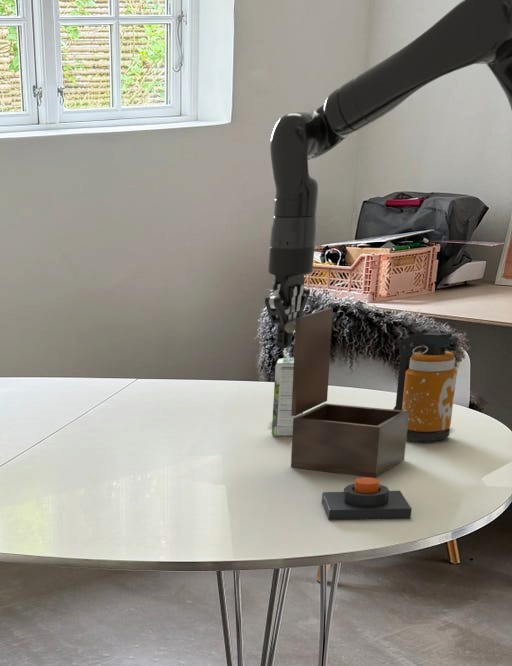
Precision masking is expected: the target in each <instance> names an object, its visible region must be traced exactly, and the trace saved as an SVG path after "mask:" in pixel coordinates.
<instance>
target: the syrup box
mask: <svg viewBox="0 0 512 666" xmlns="http://www.w3.org/2000/svg"><path fill="white" fill-rule="evenodd" d="M293 368H294V357H284V358H278V359H277V361H276V364H275V369H274V370H275V371H274V384H273V385H274V387H273V402H272V403H273V405H272V421H271V423H272V424H271V436H272V437H276V436H277V437H281V436H282V437H292V435H293V418H295V417H297V416H300V415H302V414H304V412H302V413H300V414H298V415H296V416H291V412H292V390H293Z"/></svg>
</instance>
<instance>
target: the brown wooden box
mask: <svg viewBox="0 0 512 666" xmlns="http://www.w3.org/2000/svg"><path fill="white" fill-rule="evenodd" d="M408 418H409V411H403V410H393V409H392V408H382V407H381V408H380V407H371V406H370V407H369V406H360V405H359V406H357V405H348V404H347V405H346V404H338V403H337V404H336V403H326V402H324V403H322V404H320V405H318V406H315V407H313V408H311V409H309V410H307V411H305V412H303V414H302V415H300V416H297V417H295V418H293V435H292V436H291V437H292V438H291V455H290V457H291V458H290V467H291V468H294V469H295V468H296V469H303V470H309V471H317V472H323V473H324V472H325V473H331V474H332V473H333V474H339V475H340V474H341V475H348V476H356V477H361V478H362V477H371V478H376V479H378V477H380V476H382V475H383V474H384V473H386V472H388V471H389V470H391V469H393V468H394V467H396V466H397V465H399V464H400V463H402V462H404V461H405V456H406V445H407V439H406V437H407V427H408Z"/></svg>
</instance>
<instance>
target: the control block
mask: <svg viewBox="0 0 512 666" xmlns="http://www.w3.org/2000/svg"><path fill="white" fill-rule="evenodd" d="M354 487H355V483H351V484H348V485H346V486H344V488H343V491H322V493H321V504H322V506H323V509H324V512H325V514H326V517H327V520H328V521H363V520H365V521H366V520H367V521H369V520H372V521H373V520H374V521H375V520H410V519H411V517H412V507H411V505H410V504H409V503H408V501H407V499H406V498H405V496H404V494H403V492H402V491H401V490H390V489H389V487H388V486H386V485H383V484H381V483H379V492H375V493H359V492H356V491H354Z"/></svg>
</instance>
